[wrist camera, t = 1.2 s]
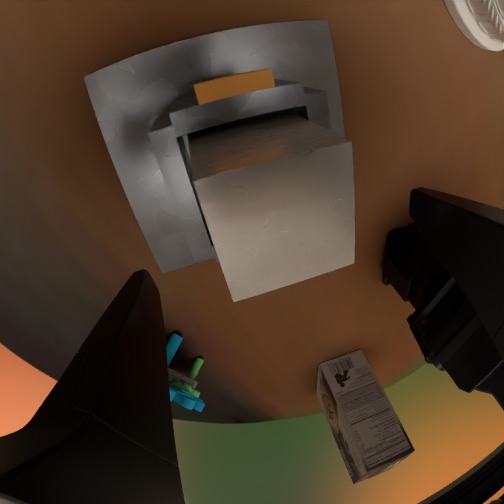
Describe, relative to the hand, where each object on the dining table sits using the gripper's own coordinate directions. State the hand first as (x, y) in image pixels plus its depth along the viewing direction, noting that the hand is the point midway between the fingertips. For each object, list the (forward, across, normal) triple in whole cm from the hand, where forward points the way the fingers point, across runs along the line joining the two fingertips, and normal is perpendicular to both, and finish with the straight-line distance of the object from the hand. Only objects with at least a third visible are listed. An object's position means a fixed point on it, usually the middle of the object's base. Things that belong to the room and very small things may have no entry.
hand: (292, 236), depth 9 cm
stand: (+11, 0, 0) cm, 11 cm away
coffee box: (+11, -7, +33) cm, 35 cm away
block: (+9, 0, 0) cm, 9 cm away
